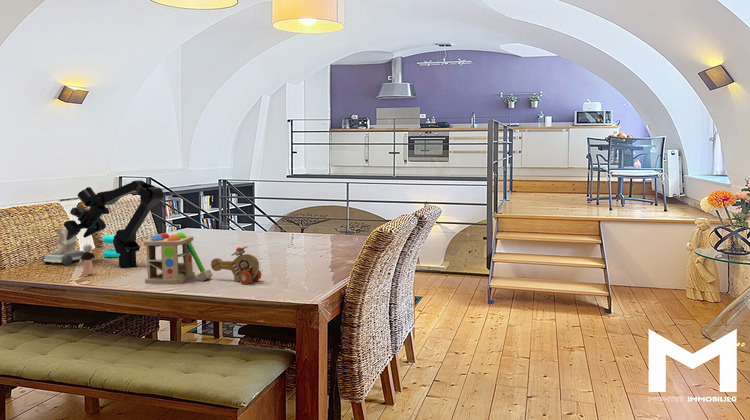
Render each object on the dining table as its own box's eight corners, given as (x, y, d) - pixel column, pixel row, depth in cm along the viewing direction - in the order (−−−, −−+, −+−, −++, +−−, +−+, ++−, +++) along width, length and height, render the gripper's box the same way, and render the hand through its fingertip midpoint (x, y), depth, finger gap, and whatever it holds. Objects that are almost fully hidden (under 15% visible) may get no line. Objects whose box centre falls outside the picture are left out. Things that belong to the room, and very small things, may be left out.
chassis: (70, 258, 275) (70, 249, 275) (93, 260, 271) (92, 250, 270) (41, 264, 260) (40, 254, 260) (64, 266, 256) (63, 255, 255)
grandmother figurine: (86, 277, 231) (85, 245, 230) (78, 276, 232) (76, 244, 231) (99, 273, 239) (98, 242, 237) (91, 273, 239) (89, 242, 238)
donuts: (117, 233, 287) (129, 235, 282) (117, 254, 288) (130, 255, 282) (97, 236, 279) (110, 237, 273) (98, 257, 280) (111, 258, 274)
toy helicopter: (251, 285, 215) (251, 248, 213) (205, 281, 223) (204, 245, 221) (264, 281, 222) (263, 245, 221) (219, 277, 230) (218, 242, 229)
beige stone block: (75, 256, 267) (74, 227, 265) (66, 257, 262) (65, 228, 261) (67, 255, 268) (65, 227, 267) (58, 257, 263) (56, 228, 262)
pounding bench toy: (216, 276, 233) (215, 230, 231) (205, 283, 219) (204, 235, 217) (159, 276, 233) (157, 231, 232) (144, 283, 219) (142, 235, 218)
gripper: (99, 199, 268) (81, 223, 273) (65, 202, 251) (47, 227, 255) (114, 217, 266) (96, 240, 271) (81, 221, 249) (62, 246, 253)
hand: (75, 238), depth 263 cm, fingers open, 9 cm apart
